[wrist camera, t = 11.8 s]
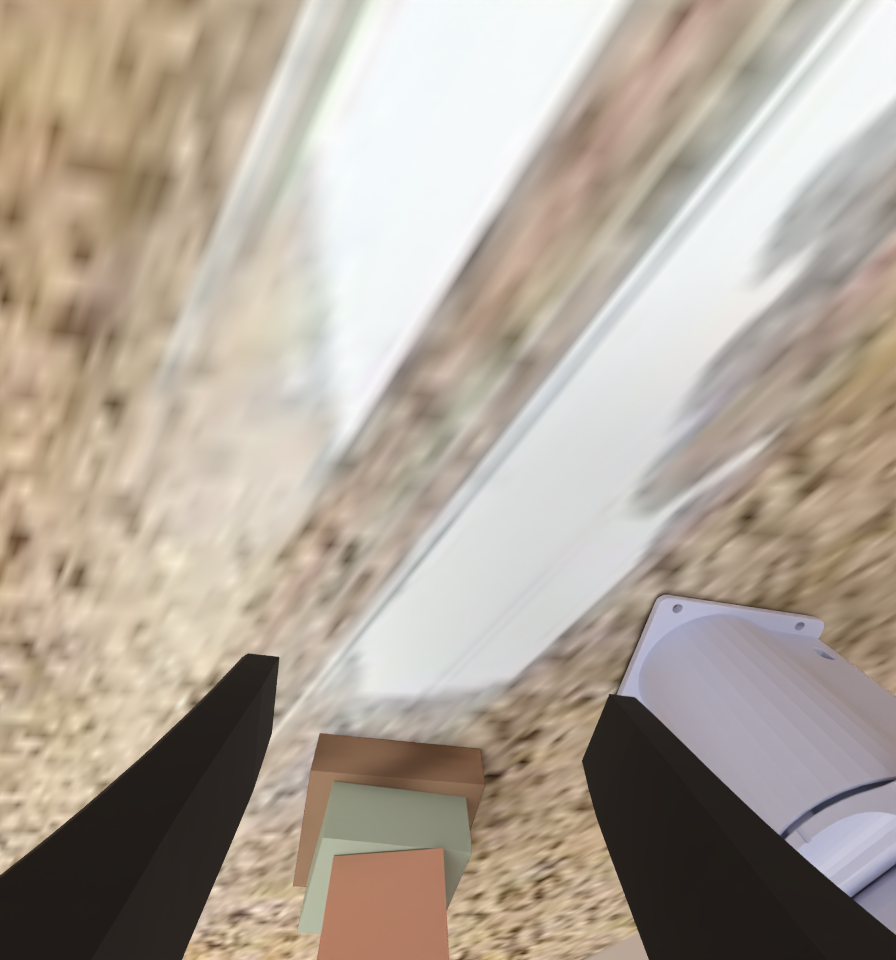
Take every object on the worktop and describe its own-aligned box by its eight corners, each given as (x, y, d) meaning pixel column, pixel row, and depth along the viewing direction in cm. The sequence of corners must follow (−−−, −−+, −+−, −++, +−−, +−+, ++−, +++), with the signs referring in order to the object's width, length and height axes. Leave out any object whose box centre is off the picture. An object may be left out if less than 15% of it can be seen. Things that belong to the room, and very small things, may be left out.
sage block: (465, 797, 22) (472, 852, 19) (431, 881, 24) (433, 941, 21) (333, 781, 21) (322, 837, 18) (309, 871, 23) (297, 932, 20)
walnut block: (478, 741, 24) (485, 785, 22) (446, 844, 27) (449, 893, 24) (321, 725, 23) (310, 770, 20) (304, 835, 26) (292, 886, 23)
